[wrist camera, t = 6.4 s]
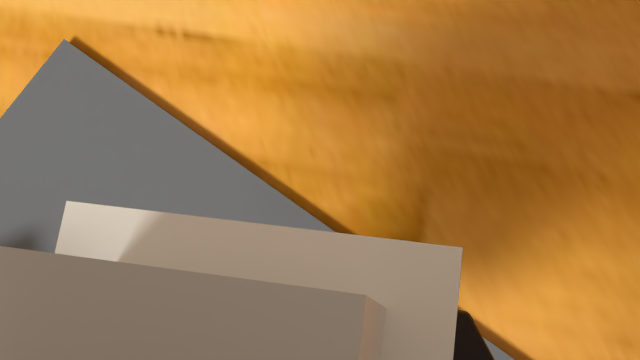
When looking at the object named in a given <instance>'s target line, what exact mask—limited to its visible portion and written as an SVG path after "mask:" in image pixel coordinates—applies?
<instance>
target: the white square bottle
mask: <svg viewBox="0 0 640 360" xmlns="http://www.w3.org/2000/svg"><path fill="white" fill-rule="evenodd" d="M462 253H463V247H455V246H446V245H438V244H429V243H421V242H412V241H404V240H395V239H387V238H378V237H370V236H361V235H353V234H344V233H336V232H327V231H319V230H310V229H302V228H293V227H285V226H276V225H268V224H259V223H251V222H242V221H234V220H225V219H217V218H208V217H200V216H192V215H183V214H175V213H166V212H158V211H149V210H141V209H132V208H124V207H115V206H107V205H98V204H90V203H81V202H73V201H66V205H65V209H64V214H63V218H62V223H61V227H60V231H59V236H58V240H57V245H56V249H55V253H49V252H41V251H34V250H26V249H19V248H11V247H4V246H0V360H453V355H454V344H455V332H456V321H457V309H458V298H459V287H460V275H461V264H462Z"/></svg>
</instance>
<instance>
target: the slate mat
mask: <svg viewBox="0 0 640 360" xmlns="http://www.w3.org/2000/svg"><path fill="white" fill-rule="evenodd" d="M66 201H73V202H81V203H90V204H98V205H107V206H115V207H124V208H132V209H141V210H149V211H158V212H166V213H175V214H183V215H192V216H200V217H208V218H217V219H225V220H234V221H242V222H251V223H259V224H268V225H276V226H285V227H293V228H302V229H310V230H319V231H327V232H335V231H333V230H332V229H330V228H329V227H328V226H326V225H325V224H323V223H322V222H321V221H319V220H318V219H316V218H315V217H314V216H312V215H311V214H309V213H308V212H307V211H305V210H304V209H302V208H301V207H300V206H298V205H297V204H295V203H294V202H292V201H291V200H290V199H288V198H287V197H285V196H284V195H283V194H281V193H280V192H278V191H277V190H276V189H274V188H273V187H271V186H270V185H269V184H267V183H266V182H264V181H263V180H262V179H260V178H259V177H257V176H256V175H255V174H253V173H252V172H250V171H249V170H248V169H246V168H245V167H243V166H242V165H240V164H239V163H238V162H236V161H235V160H233V159H232V158H231V157H229V156H228V155H226V154H225V153H224V152H222V151H221V150H219V149H218V148H217V147H215V146H214V145H212V144H211V143H210V142H208V141H207V140H205V139H204V138H203V137H201V136H200V135H198V134H197V133H195V132H194V131H193V130H191V129H190V128H188V127H187V126H186V125H184V124H183V123H181V122H180V121H179V120H177V119H176V118H174V117H173V116H172V115H170V114H169V113H167V112H166V111H165V110H163V109H162V108H160V107H159V106H158V105H156V104H155V103H153V102H152V101H150V100H149V99H148V98H146V97H145V96H143V95H142V94H141V93H139V92H138V91H136V90H135V89H134V88H132V87H131V86H129V85H128V84H127V83H125V82H124V81H122V80H121V79H120V78H118V77H117V76H115V75H114V74H113V73H111V72H110V71H108V70H107V69H105V68H104V67H103V66H101V65H100V64H98V63H97V62H96V61H94V60H93V59H91V58H90V57H89V56H87V55H86V54H84V53H83V52H82V51H80V50H79V49H77V48H76V47H75V46H73V45H72V44H70V43H69V42H68V41H66V40H65V39H64V40H63V41H62V42H61V44H60V45H59V46H58V47H57V48H56V50H55V51H54V52H53V53H52V55H51V56H50V57H49V58H48V60H47V61H46V62H45V63H44V65H43V66H42V67H41V68H40V70H39V71H38V72H37V73H36V75H35V76H34V77H33V78H32V80H31V81H30V82H29V83H28V85H27V86H26V87H25V88H24V90H23V91H22V92H21V93H20V95H19V96H18V97H17V98H16V100H15V101H14V102H13V103H12V105H11V106H10V107H9V108H8V110H7V111H6V112H5V113H4V114H3V116H2V117H1V118H0V246H4V247H11V248H19V249H26V250H34V251H41V252H49V253H55V249H56V245H57V240H58V236H59V231H60V227H61V223H62V218H63V214H64V209H65V205H66ZM483 339H484V341H485V343H486V344H487V346H488V348H489V350H490V352H491V354H492V355H493V357H494V359H495V360H515V359H513V358H512V357H510V356H509V355H508V354H506V353H505V352H503V351H502V350H501V349H499V348H498V347H496V346H495V345H494V344H492V343H491V342H489V341H488V340H487V339H485V338H484V337H483Z"/></svg>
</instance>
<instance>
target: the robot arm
mask: <svg viewBox="0 0 640 360" xmlns="http://www.w3.org/2000/svg"><path fill="white" fill-rule="evenodd" d="M453 360H495V359H494V357H493V355H492V354H491V352H490V350H489V348H488V346H487V344H486V343H485V341H484V339H483V337H482V335H481V334H480V332H479V330H478V328H477V326H476V324H475V323H474V321H473V319H472V317H471V316H470V314H469V313H468V312H466V311H461V310H457V321H456V332H455V344H454V355H453Z"/></svg>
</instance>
